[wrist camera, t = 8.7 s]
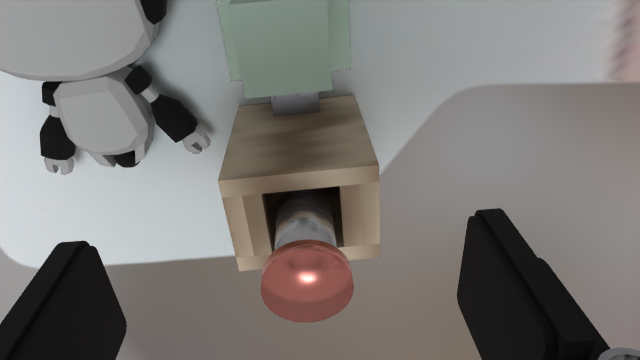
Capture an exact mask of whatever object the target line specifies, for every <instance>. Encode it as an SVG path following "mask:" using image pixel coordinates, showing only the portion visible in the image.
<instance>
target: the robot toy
mask: <svg viewBox="0 0 640 360" xmlns="http://www.w3.org/2000/svg"><path fill="white" fill-rule="evenodd" d="M166 5H167V0H0V71H3V72H5V73H8V74H11V75H13V76H16V77H19V78H24V79H29V80H39V81H46V82H44V83H43V85H42V101H43V103H46V104H48V105H50V115H49V116H48V118H47V119H46V121H45V123H44V124H43V126H42V128H41V131H40V146H41V156H44V157H45V158H44V162H45V165H46V168H47V170H48V171H50V172H53V173H56V172H57V171H58V170H59V169H58V166H60V167H61V174H64V175H65V174H68V173H70V172H72V170H73V167H74V161H73V159H72V158H71V157H72V156H73V155H74V154H75V149H76V146H77V147H78V148H80V149H82V150H84V151H86V152H88V153H89V154H90V155H91V156H92V157H93V158H94V159H95V160H96V161H97V162H98V163H99V164H100V165H105V166H109V167H115V165H116V163H117V164H119V165H120V166H122V167H134V166H136V165H138V163H139V162H140V161H141V160H142V159H143V158H145V156H146V153H147V151H148V149H149V147H150V145H151V143H152V141H153V125H154V123H155V121H156V124H157V125H158V126H159V127H160V128H161V129H162V130H163V131H164V132H165V133H166V134H167V135H168V136H169V137H170V138H171V139H172V140H173V141H174V142H175V143H176V142H179V141H181V140H182V141H183V144H184V147H185V148H186V149H187V150H189V151H190V152H192V153H193V154H197V153H200V152H202V149H203V148H204V149H206V148H208V147H209V145H210V141H211V140H210V139H209V137H208V135H207V134H206V132H205V131H202V130H200V129H198V128H195V127H196V126H197V124H198V123H197V119H196V118H195V117H194V116H193V115H192V114H191V113H190V112H189V110H188V109H187V108H186V107H185V106H184V105H183V104H182V103H181V102H180V101H179V100H176V99H173V98H171V97H168V96H165V95H161V94H159V93H158V92H157V91H156V90H155V89H154V88H153V87H152V86H151V85H150V84H151V81H152V77H151V76H150V75H149V74H148V73H147V72H146V71H145V70H144V69H143V67H142V66H141V65H139V66H137V67H136V68H134V69H132V68H130V67H127V65H129V64H131V63H133V62H134V61H135V60H137V59H138V58H140V57H141V56H142V54H143V53H144V52H145V51H146V50H147V48H148V47H149V46H150V45H151V43H152V42H153V41H154V39H155V38H156V37H157V35H158V32H159V22H160V21H161V20H162V19H163V18H164V16H165V15H166ZM197 142H198V143H199V144H200V145H201V146H202V147H203V148H202V147H201V146H200V145H199V144H198V143H197Z"/></svg>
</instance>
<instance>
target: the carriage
mask: <svg viewBox="0 0 640 360" xmlns="http://www.w3.org/2000/svg"><path fill="white" fill-rule="evenodd" d="M216 4H217V9H218V14H219V19H220V24H221V30H222V35H223V40H224V45H225V50H226V56H227V61H228V66H229V71H230V76H231V81H236V80H242V86H243V91H244V97H245V99H248V98H258V97H268V96H279V95H289V94H299V93H309V92H319V91H329V90H333V82H332V71H338V70H348V69H351V48H350V26H349V4H348V0H216Z"/></svg>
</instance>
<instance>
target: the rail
mask: <svg viewBox="0 0 640 360" xmlns="http://www.w3.org/2000/svg"><path fill="white" fill-rule="evenodd" d="M271 103H272V110H273V116H274V117H276V116H286V115H296V114H307V113H317V112H320V105H319V93H318V92H309V93H299V94H289V95H279V96H271Z"/></svg>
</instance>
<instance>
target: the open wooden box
mask: <svg viewBox="0 0 640 360" xmlns="http://www.w3.org/2000/svg"><path fill="white" fill-rule="evenodd" d="M319 105H320V112H317V113H307V114H296V115H286V116H276V117H274V116H273V110H272V103H266V104H256V105H245V106H239V107H238V111H237V114H236V118H235V121H234V125H233V129H232V132H231V136H230V139H229V143H228V147H227V150H226V154H225V157H224V161H223V165H222V168H221V172H220V175H219V179H218V183H219V188H220V192H221V196H222V200H223V204H224V209H225V213H226V217H227V221H228V225H229V230H230V234H231V238H232V242H233V246H234V251H235V255H236V259H237V263H238V267H239V271H248V270H258V269H263V266H264V264H265V261H266V260H267V258H268V257H269V256H270V255H271V253H272V252H274V251H275V235H276V214H277V205H278V203H279V201H280V199H281V198H282V197H283V196H284V195H285V194H286V193H288V192H289V191H295V190H305V189H315V190H318V191H320V192H321V193H323V194H324V195H325V196H326V197H327V198H328V200H329V202H330V204H331V210H332V217H333V224H334V232H335V239H336V246H337V248H338V249H339V250H341V251H342V252H343V253H344V254H345V256H346V257H347V259H348V260H357V259H367V258H377V257H380V207H379V164H378V161H377V158H376V155H375V152H374V150H373V147H372V144H371V141H370V138H369V135H368V133H367V130H366V127H365V124H364V121H363V118H362V116H361V113H360V110H359V107H358V104H357V102H356V99H355V96H354V95H347V96H337V97H327V98H319Z"/></svg>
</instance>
